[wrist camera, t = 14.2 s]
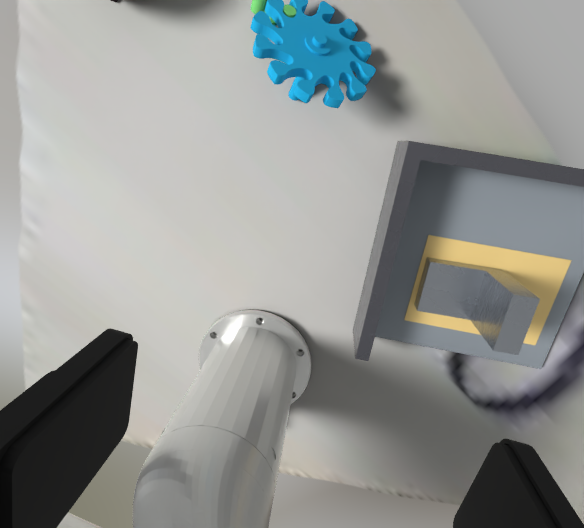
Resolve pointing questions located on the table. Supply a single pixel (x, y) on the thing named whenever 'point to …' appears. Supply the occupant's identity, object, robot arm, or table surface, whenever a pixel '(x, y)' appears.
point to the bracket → (479, 300)
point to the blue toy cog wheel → (311, 50)
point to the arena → (472, 245)
